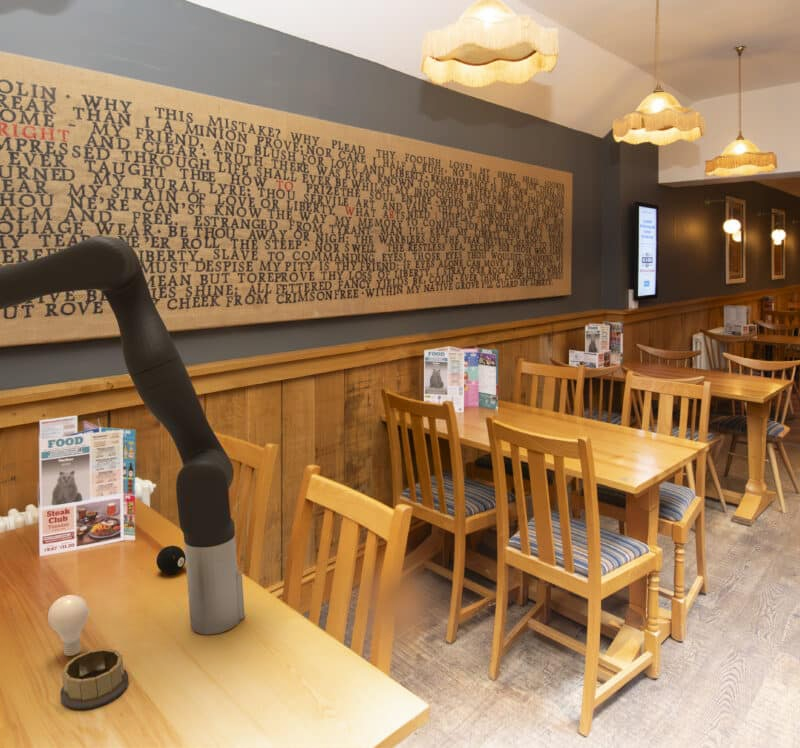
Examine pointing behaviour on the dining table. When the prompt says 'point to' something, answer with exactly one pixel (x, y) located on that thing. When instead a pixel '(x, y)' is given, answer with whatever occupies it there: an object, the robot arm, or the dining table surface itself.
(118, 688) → the bulb holder
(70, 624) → the lightbulb
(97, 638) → the dining table surface
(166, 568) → the billiard ball
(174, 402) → the robot arm
